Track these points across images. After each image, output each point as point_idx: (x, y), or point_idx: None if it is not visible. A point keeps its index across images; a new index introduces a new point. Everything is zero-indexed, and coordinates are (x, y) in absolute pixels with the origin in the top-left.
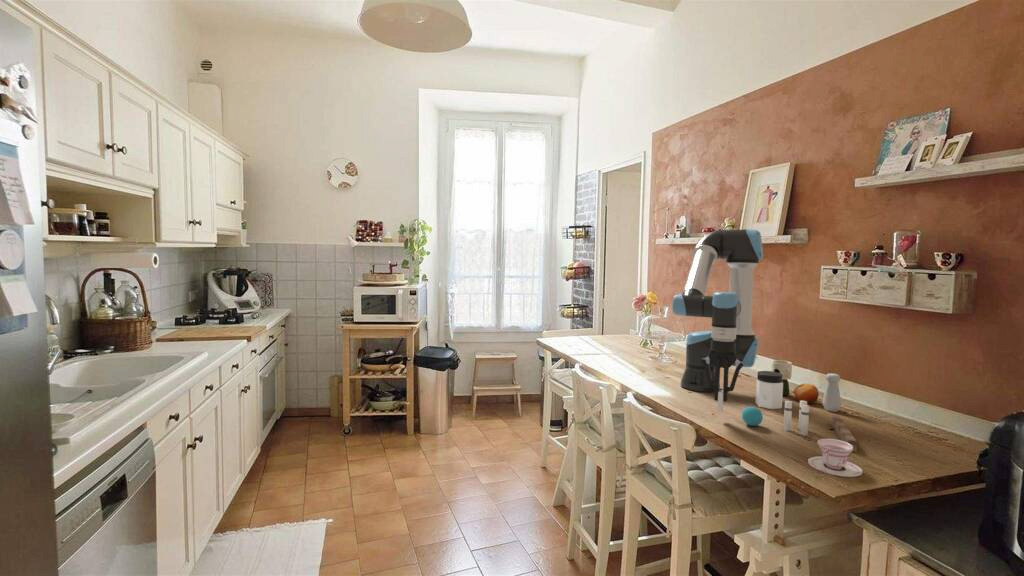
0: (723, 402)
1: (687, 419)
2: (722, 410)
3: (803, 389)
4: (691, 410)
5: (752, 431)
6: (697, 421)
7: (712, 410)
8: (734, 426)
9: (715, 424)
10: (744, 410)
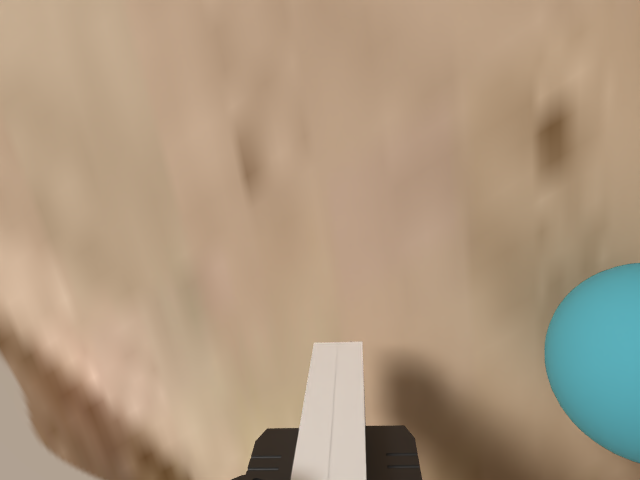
0: (363, 387)
1: (114, 428)
2: (365, 421)
3: None
4: (53, 163)
5: (604, 461)
6: (191, 437)
7: (220, 37)
8: (467, 414)
9: None
10: (597, 419)
